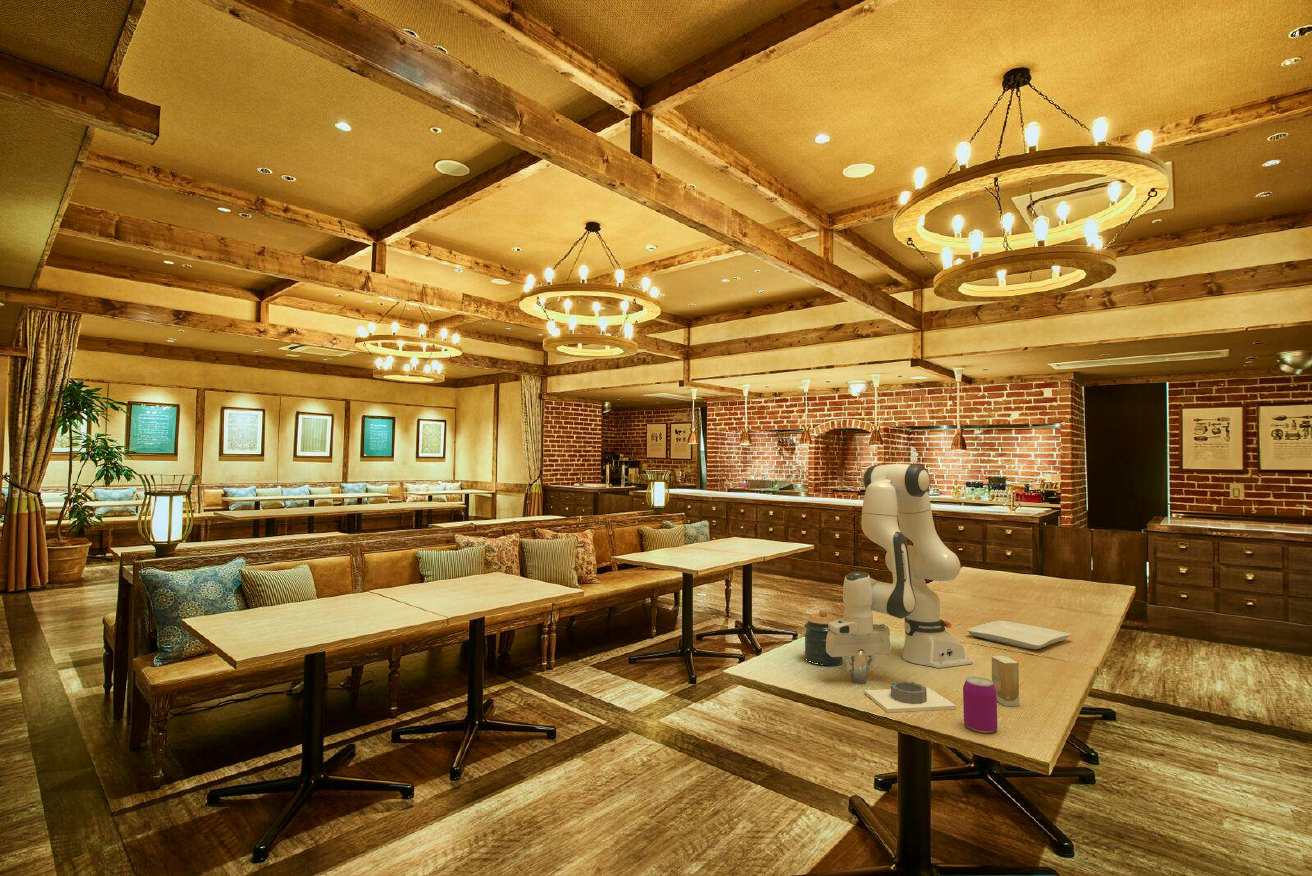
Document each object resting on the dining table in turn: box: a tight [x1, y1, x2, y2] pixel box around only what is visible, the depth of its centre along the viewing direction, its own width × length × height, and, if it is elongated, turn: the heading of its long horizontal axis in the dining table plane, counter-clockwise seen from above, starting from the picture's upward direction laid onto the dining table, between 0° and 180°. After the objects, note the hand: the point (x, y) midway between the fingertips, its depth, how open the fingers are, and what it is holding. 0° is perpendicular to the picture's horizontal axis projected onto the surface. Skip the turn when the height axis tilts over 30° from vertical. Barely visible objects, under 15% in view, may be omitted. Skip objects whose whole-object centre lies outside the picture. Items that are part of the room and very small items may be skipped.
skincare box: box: [991, 655, 1020, 707], centre depth 174 cm, size 6×4×12 cm
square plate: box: [966, 620, 1072, 650], centre depth 236 cm, size 27×27×4 cm
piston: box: [850, 649, 868, 685], centre depth 190 cm, size 5×5×11 cm
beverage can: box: [962, 675, 998, 734], centre depth 157 cm, size 8×8×12 cm
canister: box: [803, 608, 844, 666], centre depth 211 cm, size 13×13×18 cm
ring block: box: [863, 680, 957, 714], centre depth 174 cm, size 20×14×4 cm
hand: (858, 669), depth 190 cm, fingers closed on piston, 5 cm apart
